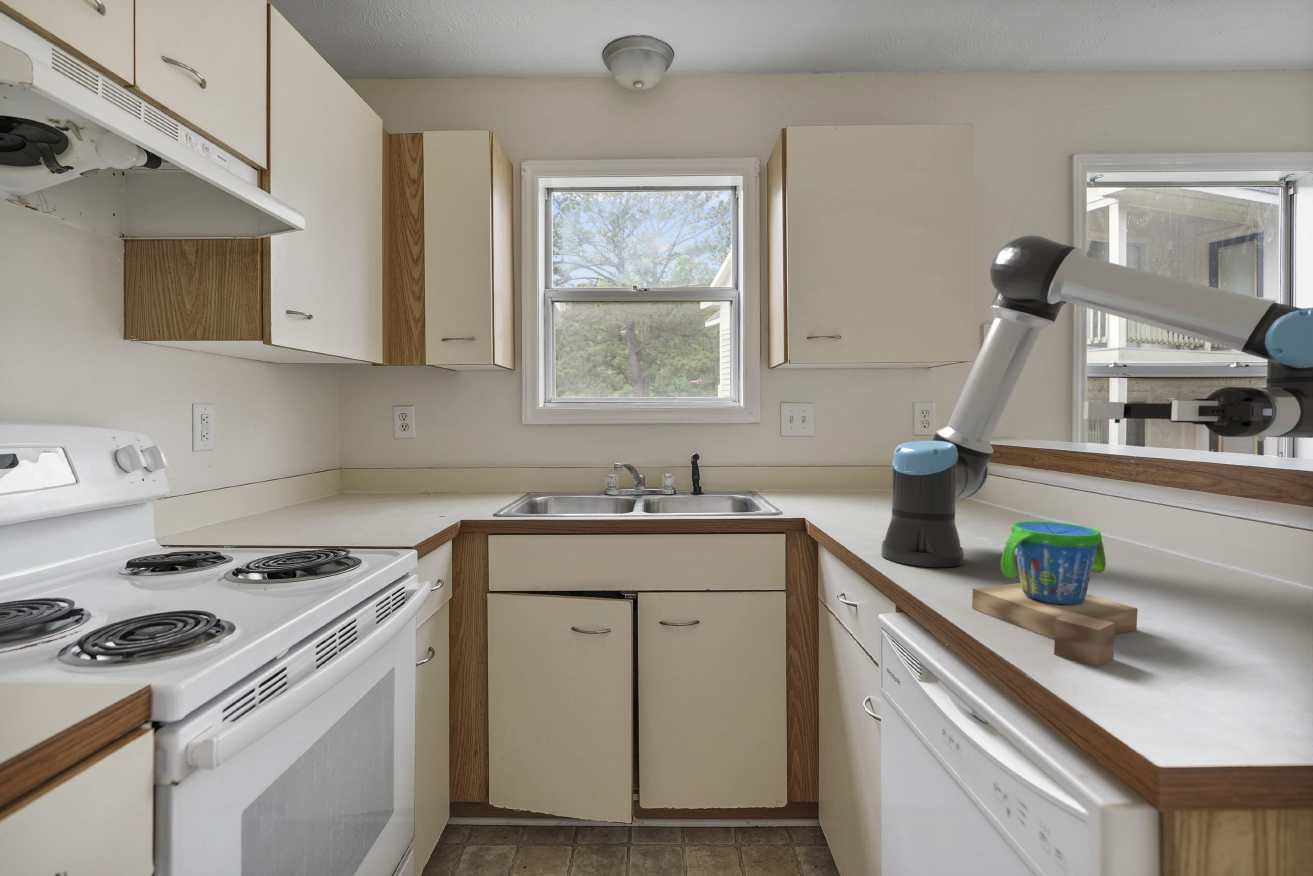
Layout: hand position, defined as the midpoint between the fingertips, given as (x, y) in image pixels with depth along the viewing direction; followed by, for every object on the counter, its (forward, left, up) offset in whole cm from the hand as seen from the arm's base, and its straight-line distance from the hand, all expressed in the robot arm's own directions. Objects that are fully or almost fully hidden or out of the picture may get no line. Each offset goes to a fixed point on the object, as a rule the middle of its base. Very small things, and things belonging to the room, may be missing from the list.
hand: (1126, 410), depth 87 cm
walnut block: (+10, -21, -30) cm, 38 cm away
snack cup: (-1, -12, -27) cm, 30 cm away
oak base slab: (-1, -12, -30) cm, 32 cm away
